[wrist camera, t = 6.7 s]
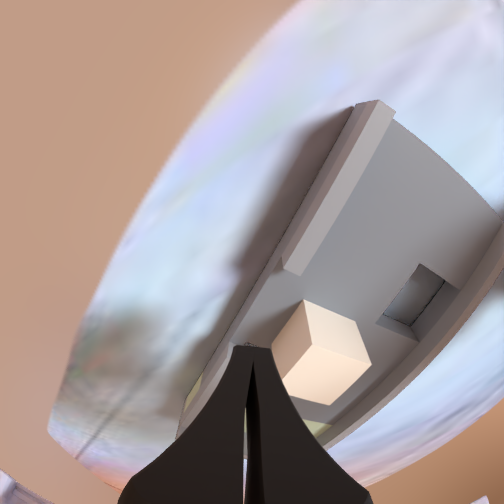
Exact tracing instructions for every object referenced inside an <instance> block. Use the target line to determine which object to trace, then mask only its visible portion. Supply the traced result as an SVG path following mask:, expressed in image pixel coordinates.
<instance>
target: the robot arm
mask: <svg viewBox="0 0 504 504" xmlns="http://www.w3.org/2000/svg"><path fill="white" fill-rule="evenodd" d="M245 408H246V431H247V473H246V487H245V500H244V504H373V501H372V499H371V496H370V494H369V491H367V490H366V489H365V488H364V487H362V486H361V485H360V484H359V483H357V482H356V481H355V480H354V479H353V478H352V477H351V476H349V475H348V474H347V473H346V472H345V471H344V470H343V469H342V468H341V467H340V466H339V465H338V464H337V463H336V462H335V461H334V460H333V458H332V457H331V456H330V455H329V454H328V453H327V452H326V451H325V449H324V448H323V447H322V446H321V445H320V444H319V442H318V441H317V440H316V438H315V437H314V436H313V434H312V433H311V431H310V430H309V429H308V427H307V426H306V424H305V423H304V421H303V420H302V418H301V416H300V415H299V413H298V411H297V409H296V408H295V406H294V404H293V402H292V400H291V398H290V396H289V394H288V392H287V390H286V388H285V386H284V384H283V382H282V379H281V377H280V374H279V372H278V369H277V367H276V364H275V361H274V357H273V354H272V350H271V349H270V348H261V347H251V346H242V345H236V346H234V347H233V351H232V355H231V358H230V360H229V363H228V365H227V367H226V370H225V372H224V374H223V376H222V378H221V379H220V381H219V383H218V385H217V387H216V389H215V390H214V392H213V393H212V395H211V396H210V398H209V400H208V401H207V403H206V404H205V406H204V407H203V408H202V410H201V411H200V412H199V414H198V415H197V416H196V418H195V419H194V420H193V421H192V423H191V424H190V425H189V426H188V427H187V428H186V430H185V431H184V432H183V433H182V434H181V435H180V436H179V437H178V438H177V439H176V440H175V442H174V443H173V444H171V445H170V446H169V447H168V448H167V449H166V450H165V451H164V452H163V453H162V454H161V455H160V456H158V457H157V458H156V459H155V460H154V461H153V462H151V463H150V464H149V465H147V466H146V467H145V468H143V469H142V470H141V471H139V472H138V473H137V474H135V475H134V476H133V477H132V478H131V479H130V480H129V482H128V483H127V485H126V486H125V488H124V489H123V491H122V493H121V495H120V497H119V500H118V504H243V460H244V424H245ZM0 504H54V503H52V502H50V501H48V500H46V499H44V498H43V497H41V496H39V495H37V494H36V493H34V492H32V491H30V490H29V489H27V488H26V487H24V486H22V485H21V484H19V483H18V482H16V480H15V479H13V478H12V477H11V476H10V475H8V474H7V473H5V472H4V471H3V470H1V469H0ZM470 504H489V502H488V499H487V496H483V497H481V498H480V499H478V500H476V501H474V502H472V503H470Z"/></svg>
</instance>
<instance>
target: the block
mask: <svg viewBox="0 0 504 504" xmlns="http://www.w3.org/2000/svg"><path fill="white" fill-rule="evenodd" d="M271 345H272V354H273V357H274V361H275V364H276V367H277V369H278V372H279V374H280V377H281V379H282V382H283V384H284V386H285V388H286V390H287V392H288V394H289V395H290V396H294V397H298V398H301V399H305V400H309V401H313V402H317V403H321V404H325V405H331V404H332V403H333V402H334V401H335V400H336V399H337V398H338V397H339V396H340V395H342V394H343V393H344V392H345V391H346V390H347V389H348V388H349V387H350V386H351V385H352V384H353V383H354V382H355V381H356V380H357V379H358V378H359V377H360V376H361V375H362V374H363V373H364V372H365V371H366V370H367V369H368V368H369V367H370V366H371V365H372V364H371V361H370V359H369V356H368V353H367V351H366V348H365V345H364V343H363V340H362V338H361V335H360V333H359V330H358V327H357V325H356V322H355V321H353V320H351V319H348V318H346V317H344V316H341V315H339V314H337V313H334V312H332V311H330V310H327V309H325V308H323V307H320V306H318V305H316V304H313V303H311V302H309V301H306V300H304V299H303V301H302V302H301V303H300V305H299V306H298V308H297V309H296V311H295V312H294V313H293V315H292V316H291V318H290V319H289V320H288V322H287V323H286V325H285V326H284V327H283V329H282V330H281V332H280V333H279V334H278V336H277V337H276V338H275V340H274V341H273V343H272V344H271Z"/></svg>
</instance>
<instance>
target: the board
mask: <svg viewBox="0 0 504 504" xmlns="http://www.w3.org/2000/svg"><path fill="white" fill-rule="evenodd" d="M395 113H396V111H394V110H393V109H392V108H390V107H389V106H388V105H386V104H385V103H383V102H382V101H380V100H374V101H368V102H363V103H358V104H356V105H355V107H354V109H353V111H352V113H351V115H350V117H349V118H348V120H347V122H346V124H345V126H344V128H343V129H342V131H341V133H340V135H339V137H338V139H337V140H336V142H335V144H334V146H333V148H332V150H331V151H330V153H329V155H328V157H327V159H326V160H325V162H324V164H323V166H322V168H321V169H320V171H319V173H318V175H317V177H316V178H315V180H314V182H313V184H312V186H311V187H310V189H309V191H308V193H307V194H306V196H305V198H304V200H303V202H302V203H301V205H300V207H299V209H298V210H297V212H296V214H295V216H294V217H293V219H292V221H291V223H290V225H289V226H288V228H287V230H286V232H285V233H284V235H283V237H282V239H281V240H280V242H279V244H278V245H277V247H276V249H275V251H274V252H273V254H272V256H271V258H270V259H269V261H268V263H267V265H266V266H265V268H264V270H263V271H262V273H261V275H260V277H259V278H258V280H257V282H256V283H255V285H254V287H253V289H252V290H251V292H250V294H249V295H248V297H247V299H246V300H245V302H244V304H243V306H242V307H241V309H240V311H239V312H238V314H237V316H236V317H235V319H234V321H233V322H232V324H231V326H230V327H229V329H228V331H227V332H226V334H225V336H224V337H223V339H222V341H221V342H220V344H219V346H218V347H217V349H216V351H215V352H214V354H213V356H212V357H211V359H210V361H209V362H208V364H207V366H206V367H205V369H204V371H203V372H202V374H201V376H200V377H199V379H198V380H197V382H196V384H195V385H194V387H193V389H192V390H191V392H190V394H189V395H188V397H187V398H186V400H185V402H184V406H183V410H182V414H181V418H180V422H179V426H178V430H177V434H176V438H175V439H177V438H178V437H179V436H180V435H181V434H182V433H183V432H184V431H185V430H186V428H187V427H188V426H189V425H190V424H191V423H192V421H193V420H194V419H195V418H196V416H197V415H198V414H199V412H200V411H201V410H202V408H203V407H204V406H205V404H206V403H207V401H208V400H209V398H210V396H211V395H212V393H213V392H214V390H215V389H216V387H217V385H218V383H219V381H220V379H221V378H222V376H223V374H224V372H225V370H226V367H227V365H228V363H229V360H230V358H231V355H232V351H233V347H234V346H236V345H242V346H244V345H245V343H246V342H248V343H250V344H253V345H256V346H258V347H261V348H270V349H271V350H272V345H271V344H272V343H273V341H274V340H275V338H276V337H277V336H278V334H279V333H280V332H281V330H282V329H283V327H284V326H285V325H286V323H287V322H288V320H289V319H290V318H291V316H292V315H293V313H294V312H295V311H296V309H297V308H298V306H299V305H300V303H301V302H302V301H303V299H304V300H306V301H309V302H311V303H313V304H316V305H318V306H320V307H323V308H325V309H327V310H330V311H332V312H334V313H337V314H339V315H341V316H344V317H346V318H348V319H351V320H353V321H355V322H356V325H357V327H358V330H359V333H360V335H361V338H362V340H363V343H364V345H365V348H366V351H367V353H368V356H369V359H370V361H371V364H372V365H371V366H370V367H369V368H368V369H367V370H366V371H365V372H364V373H363V374H362V375H361V376H360V377H359V378H358V379H357V380H356V381H355V382H354V383H353V384H352V385H351V386H350V387H349V388H348V389H347V390H346V391H345V392H344V393H343V394H342V395H340V396H339V397H338V398H337V399H336V400H335V401H334V402H333V403H332V404H331V405H325V404H321V403H317V402H313V401H309V400H305V399H301V398H298V397H294V396H290V395H289V396H290V398H291V400H292V402H293V404H294V406H295V408H296V409H297V411H298V413H299V415H300V416H301V418H302V420H303V421H304V423H305V424H306V426H307V427H308V429H309V430H310V431H311V433H312V434H313V436H314V437H315V438H316V440H317V441H318V442H319V444H320V445H321V446H322V447H323V448H324V449H325V451H327V450H328V449H330V448H331V447H333V446H334V445H335V444H337V443H338V442H340V441H341V440H342V439H344V438H345V437H347V436H348V435H349V434H351V433H352V432H353V431H355V430H356V429H357V428H359V427H360V426H361V425H362V424H364V423H365V422H366V421H368V420H369V419H370V418H371V417H372V416H374V415H375V414H376V413H377V412H379V411H380V410H381V409H382V408H383V407H384V406H386V405H387V404H388V403H389V402H390V401H391V400H392V399H394V398H395V397H396V396H397V395H398V394H399V393H400V392H401V391H402V390H403V389H404V388H406V387H407V386H408V385H409V384H410V383H411V382H412V381H413V380H414V379H415V378H416V377H417V376H418V375H419V374H420V373H421V372H422V371H423V370H424V369H425V368H426V367H427V366H428V365H429V364H430V363H431V362H432V360H433V359H434V358H435V357H436V356H437V355H438V354H439V353H440V352H441V351H442V350H443V348H444V347H445V346H446V345H447V344H448V343H449V342H450V340H451V339H452V338H453V337H454V336H455V334H456V333H457V332H458V331H459V330H460V328H461V327H462V326H463V325H464V323H465V322H466V321H467V320H468V318H469V317H470V316H471V314H472V313H473V312H474V310H475V309H476V308H477V306H478V305H479V304H480V302H481V301H482V300H483V298H484V297H485V295H486V294H487V292H488V291H489V289H490V288H491V287H492V285H493V284H494V282H495V280H496V279H497V277H498V276H499V274H500V273H501V271H502V269H503V268H504V222H503V221H502V219H501V218H500V217H499V216H498V215H497V213H496V212H495V211H494V210H493V209H492V208H491V207H490V205H489V204H488V203H487V202H486V201H485V200H484V199H483V198H482V197H481V196H480V195H479V194H478V193H477V191H476V190H475V189H474V188H473V187H472V186H471V185H470V184H469V183H468V182H467V181H466V180H465V179H464V178H463V177H462V176H461V175H460V174H459V173H457V172H456V171H455V170H454V169H453V168H452V167H451V166H450V165H449V164H448V163H447V162H446V161H445V160H443V159H442V158H441V157H440V156H439V155H438V154H437V153H435V152H434V151H433V150H432V149H431V148H430V147H428V146H427V145H426V144H425V143H424V142H422V141H421V140H420V139H419V138H418V137H416V136H415V135H414V134H412V133H411V132H410V131H409V130H407V129H406V128H405V127H403V126H402V125H401V124H399V123H398V122H397V121H395V120H394V119H393V116H394V115H395ZM419 264H422V265H423V266H425V267H426V268H428V269H429V270H431V271H432V272H434V273H435V274H437V275H438V276H440V277H441V278H443V279H444V280H446V281H445V283H444V284H443V285H442V287H441V288H440V290H439V291H438V292H437V294H436V295H435V296H434V298H433V299H432V300H431V302H430V303H429V304H428V306H427V307H426V308H425V309H424V311H423V312H422V313H421V315H420V316H419V317H418V318H417V319H416V321H415V322H414V323H413V324H412V326H411V327H409V326H407V325H405V324H403V323H401V322H399V321H396V320H394V319H392V318H390V317H388V316H385V315H383V313H384V311H385V310H386V309H387V308H388V306H389V305H390V304H391V302H392V301H393V300H394V299H395V297H396V296H397V295H398V293H399V292H400V291H401V289H402V288H403V286H404V285H405V284H406V282H407V281H408V280H409V278H410V277H411V275H412V274H413V272H414V271H415V270H416V268H417V267H418V265H419ZM244 459H247V431H246V408H245V424H244Z"/></svg>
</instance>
